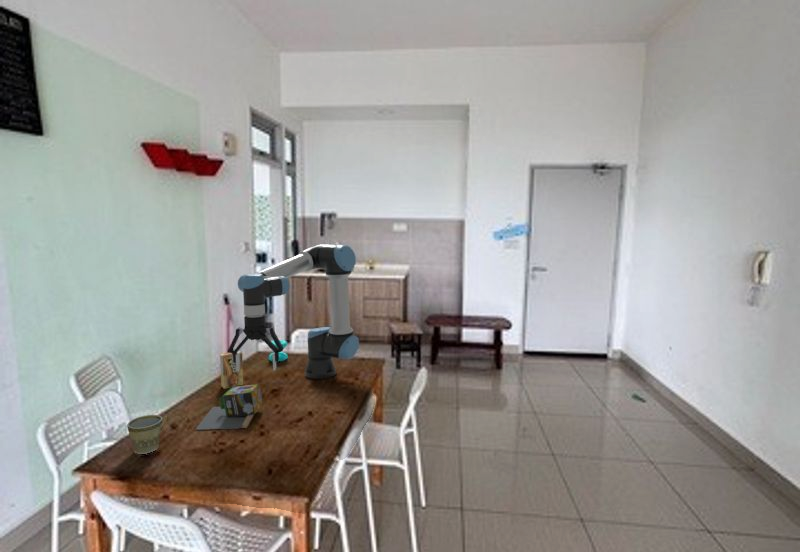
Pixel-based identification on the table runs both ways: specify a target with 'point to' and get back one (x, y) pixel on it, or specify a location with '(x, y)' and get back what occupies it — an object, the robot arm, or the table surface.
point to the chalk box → (242, 400)
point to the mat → (223, 420)
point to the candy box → (230, 371)
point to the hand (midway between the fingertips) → (256, 369)
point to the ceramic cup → (145, 433)
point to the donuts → (282, 355)
